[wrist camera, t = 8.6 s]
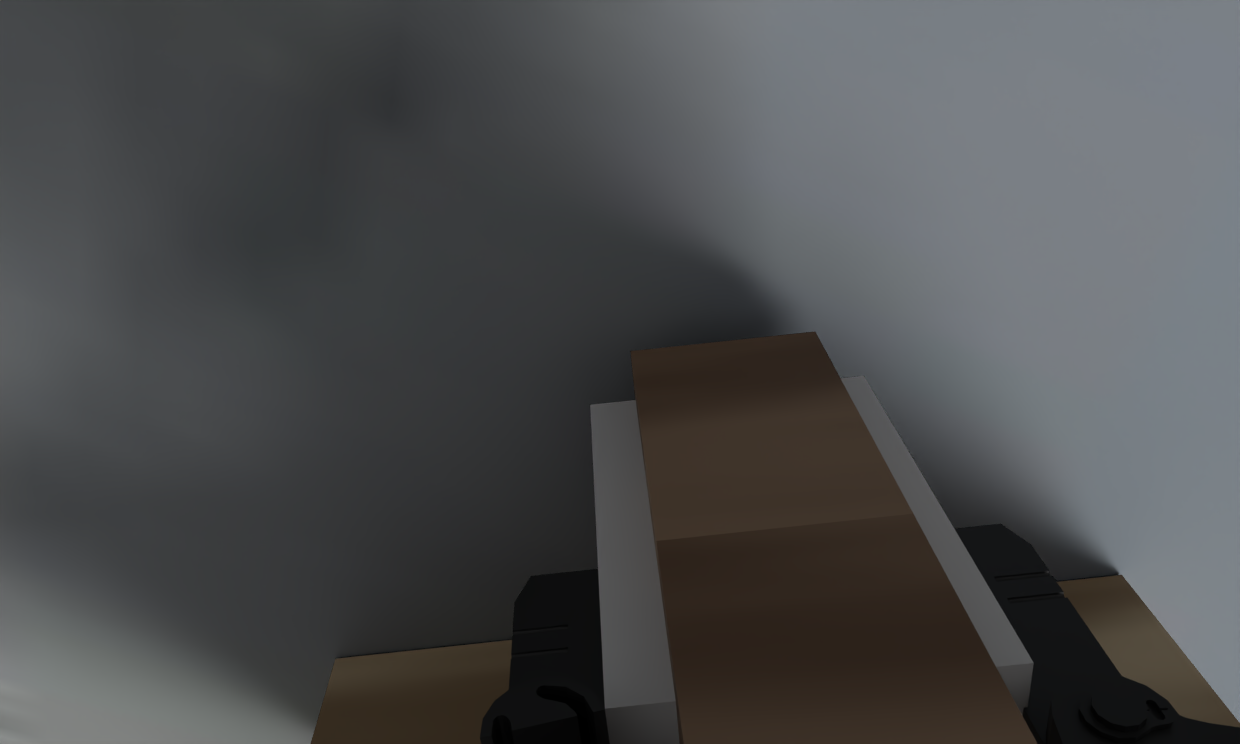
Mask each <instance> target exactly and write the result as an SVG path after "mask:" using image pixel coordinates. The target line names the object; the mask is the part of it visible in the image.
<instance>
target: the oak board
mask: <svg viewBox="0 0 1240 744" xmlns="http://www.w3.org/2000/svg"><path fill="white" fill-rule="evenodd" d="M1057 583H1058V584H1059V586H1060V587H1061V589H1062V590H1063V592H1064V597H1065V598H1067V597H1068V599H1069V600H1070V602H1071V603H1072V605H1073V606H1074V608H1075V609H1076V610H1077V612H1078V613H1079V615H1080V616H1081V618H1082V619H1083V621H1084V622H1085V623H1086V625H1087V626H1088V628H1089V629H1090V631H1091V632H1092V634H1093V635H1094V636H1095V638H1096V639H1097V641H1098V642H1099V644H1100V645H1101V647H1102V648H1103V650H1104V651H1105V652H1106V654H1107V655H1108V657H1109V658H1110V660H1111V661H1112V663H1113V664H1114V665H1115V667H1116V668H1117V670H1118V671H1119V673H1120V674H1121V675H1122V676H1123V677H1126V678H1128V679H1131V680H1133V681H1136V682H1139V683H1141V684H1144V685H1146V686H1148V687H1149V688H1151V689H1152V690H1154V691H1155V692H1157V693H1158V694H1159V695H1161V696H1162V697H1164V698H1165V699H1167V700H1168V701H1169V703H1170V704H1171V705H1172V706H1173V708H1174V709H1175V710H1176V711H1177V713H1178V714H1179V715H1181V716H1183V717H1186V718H1189V719H1194V720H1198V721H1203V722H1207V723H1213V724H1220V725H1227V726H1234V727H1240V723H1239V722H1238V721H1237V719H1236V718H1235V717H1234V715H1233V714H1232V713H1231V712H1230V710H1229V709H1228V708H1227V707H1226V705H1225V704H1224V703H1223V702H1222V700H1221V699H1220V698H1219V697H1218V695H1217V694H1216V693H1215V692H1214V690H1213V689H1212V688H1211V687H1210V685H1209V684H1208V683H1207V682H1206V680H1205V679H1204V678H1203V676H1202V675H1201V674H1200V673H1199V671H1198V670H1197V669H1196V668H1195V666H1194V665H1193V664H1192V663H1191V661H1190V660H1189V659H1188V658H1187V656H1186V655H1185V654H1184V653H1183V651H1182V650H1181V649H1180V648H1179V646H1178V645H1177V644H1176V643H1175V641H1174V640H1173V639H1172V638H1171V636H1170V635H1169V634H1168V632H1167V631H1166V630H1165V629H1164V627H1163V626H1162V625H1161V624H1160V622H1159V621H1158V620H1157V619H1156V617H1155V616H1154V615H1153V614H1152V612H1151V611H1150V610H1149V609H1148V607H1147V606H1146V605H1145V604H1144V602H1143V601H1142V600H1141V599H1140V597H1139V596H1138V595H1137V593H1136V592H1135V591H1134V590H1133V588H1132V587H1131V586H1130V585H1129V583H1128V582H1127V581H1126V580H1125V578H1124V577H1123V576H1122V575H1116V576H1107V577H1097V578H1088V579H1079V580H1069V581H1060V582H1057ZM511 647H512V640H506V641H497V642H488V643H478V644H469V645H459V646H450V647H441V648H431V649H422V650H413V651H403V652H394V653H384V654H375V655H366V656H356V657H347V658H338V659H335V662H334V666H333V669H332V673H331V676H330V680H329V683H328V686H327V690H326V693H325V697H324V700H323V703H322V707H321V710H320V714H319V717H318V721H317V724H316V727H315V731H314V734H313V738H312V741H311V744H481V741H480V733H481V726H482V720H483V717H484V716H485V714H486V713H487V711H488V710H489V708H490V707H491V705H492V704H493V702H494V701H495V700H496V699H497V698H499V697H500V696H501V695H503V694H504V693H505V692H506V691H508V690H509V677H510V662H511V658H512V657H511Z"/></svg>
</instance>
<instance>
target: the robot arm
mask: <svg viewBox="0 0 1240 744" xmlns="http://www.w3.org/2000/svg"><path fill="white" fill-rule="evenodd" d="M840 379H841V380H842V382H843V384H844V386H845V388H846V390H847V391H848V393H849V395H850V397H851V399H852V401H853V403H854V404H855V406H856V408H857V410H858V412H859V414H860V416H861V417H862V419H863V421H864V423H865V425H866V427H867V429H868V430H869V432H870V434H871V436H872V438H873V440H874V442H875V443H876V445H877V447H878V449H879V451H880V453H881V455H882V456H883V458H884V460H885V462H886V464H887V466H888V468H889V469H890V471H891V473H892V475H893V477H894V479H895V480H896V482H897V484H898V486H899V488H900V490H901V492H902V493H903V495H904V497H905V499H906V501H907V503H908V505H909V506H910V508H911V510H912V512H913V514H914V516H915V518H916V519H917V521H918V523H919V525H920V527H921V529H922V531H923V532H924V534H925V536H926V538H927V540H928V542H929V544H930V545H931V547H932V549H933V551H934V553H935V555H936V556H937V558H938V560H939V562H940V564H941V566H942V568H943V569H944V571H945V573H946V575H947V577H948V579H949V581H950V582H951V584H952V586H953V588H954V590H955V592H956V594H957V595H958V597H959V599H960V601H961V603H962V605H963V607H964V608H965V610H966V612H967V614H968V616H969V618H970V620H971V621H972V623H973V625H974V627H975V629H976V631H977V633H978V634H979V636H980V638H981V640H982V642H983V644H984V645H985V647H986V649H987V651H988V653H989V655H990V657H991V658H992V660H993V662H994V664H995V666H996V668H997V670H998V671H999V673H1000V675H1001V677H1002V679H1003V681H1004V683H1005V684H1006V686H1007V688H1008V690H1009V692H1010V694H1011V696H1012V697H1013V699H1014V701H1015V703H1016V705H1017V707H1018V709H1019V710H1020V712H1021V714H1022V716H1023V718H1024V720H1025V721H1026V723H1027V725H1028V727H1029V729H1030V731H1031V733H1032V734H1033V736H1034V738H1035V740H1036V742H1037V744H1240V727H1234V726H1227V725H1220V724H1213V723H1207V722H1203V721H1198V720H1194V719H1189V718H1186V717H1183V716H1181V715H1179V714H1178V713H1177V711H1176V710H1175V709H1174V708H1173V706H1172V705H1171V704H1170V703H1169V701H1168V700H1167V699H1165V698H1164V697H1162V696H1161V695H1159V694H1158V693H1157V692H1155V691H1154V690H1152V689H1151V688H1149V687H1148V686H1146V685H1144V684H1141V683H1139V682H1136V681H1133V680H1131V679H1128V678H1126V677H1123V676H1122V675H1121V674H1120V673H1119V671H1118V670H1117V668H1116V667H1115V665H1114V664H1113V663H1112V661H1111V660H1110V658H1109V657H1108V655H1107V654H1106V652H1105V651H1104V650H1103V648H1102V647H1101V645H1100V644H1099V642H1098V641H1097V639H1096V638H1095V636H1094V635H1093V634H1092V632H1091V631H1090V629H1089V628H1088V626H1087V625H1086V623H1085V622H1084V621H1083V619H1082V618H1081V616H1080V615H1079V613H1078V612H1077V610H1076V609H1075V608H1074V606H1073V605H1072V603H1071V602H1070V600H1069V599H1068V597H1067V598H1065V597H1064V592H1063V590H1062V589H1061V587H1060V586H1059V584H1058V583H1057V582H1056V580H1055V579H1054V577H1053V576H1050V574H1049V570H1048V569H1047V567H1046V566H1045V564H1044V563H1043V561H1042V560H1041V558H1040V557H1039V555H1038V554H1037V553H1036V551H1035V550H1034V548H1033V547H1032V545H1031V544H1029V543H1028V542H1026V541H1025V540H1023V539H1022V538H1020V537H1019V536H1018V535H1016V534H1015V533H1013V532H1012V531H1010V530H1009V529H1008V528H1006V527H1005V526H1003V525H1002V524H995V525H985V526H976V527H966V528H957V529H954V527H953V526H952V524H951V522H950V521H949V519H948V517H947V516H946V514H945V512H944V510H943V509H942V507H941V505H940V504H939V502H938V500H937V499H936V497H935V495H934V494H933V492H932V490H931V488H930V487H929V485H928V483H927V482H926V480H925V478H924V477H923V475H922V473H921V472H920V470H919V468H918V466H917V465H916V463H915V461H914V460H913V458H912V456H911V455H910V453H909V451H908V450H907V448H906V446H905V444H904V443H903V441H902V439H901V438H900V436H899V434H898V433H897V431H896V429H895V428H894V426H893V424H892V422H891V421H890V419H889V417H888V416H887V414H886V412H885V411H884V409H883V407H882V406H881V404H880V402H879V401H878V399H877V397H876V395H875V394H874V392H873V390H872V389H871V387H870V385H869V384H868V382H867V380H866V379H865V377H864V376H857V377H847V378H840ZM590 410H591V430H592V451H593V472H594V493H595V514H596V535H597V555H598V569H593V570H584V571H574V572H565V573H555V574H546V575H537V576H531V577H530V579H529V580H528V582H527V583H526V585H525V586H524V588H523V590H522V591H521V593H520V594H519V596H518V598H517V599H516V601H515V604H514V618H513V636H512V647H511V657H512V658H511V662H510V677H509V690H508V691H506V692H505V693H504V694H503V695H501V696H500V697H499V698H497V699H496V700H495V701H494V702H493V704H492V705H491V707H490V708H489V710H488V711H487V713H486V714H485V716H484V717H483V720H482V726H481V733H480V741H481V744H680V743H679V732H678V721H677V710H676V700H675V692H674V685H673V677H672V670H671V662H670V655H669V647H668V640H667V632H666V625H665V617H664V610H663V602H662V595H661V587H660V580H659V572H658V565H657V557H656V550H655V543H654V535H653V528H652V520H651V513H650V505H649V498H648V490H647V483H646V475H645V468H644V460H643V453H642V445H641V438H640V430H639V423H638V415H637V408H636V400H630V401H621V402H611V403H602V404H592V405H590Z"/></svg>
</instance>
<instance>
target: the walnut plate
mask: <svg viewBox="0 0 1240 744" xmlns="http://www.w3.org/2000/svg"><path fill="white" fill-rule="evenodd" d="M630 352H631V362H632V372H633V382H634V393H635V400H636V408H637V415H638V423H639V430H640V438H641V445H642V453H643V460H644V468H645V475H646V483H647V490H648V498H649V505H650V513H651V520H652V528H653V535H654V543H655V550H656V557H657V565H658V572H659V580H660V587H661V595H662V602H663V610H664V617H665V625H666V632H667V640H668V647H669V655H670V662H671V670H672V677H673V685H674V692H675V700H676V710H677V721H678V732H679V743H680V744H1037V742H1036V740H1035V738H1034V736H1033V734H1032V733H1031V731H1030V729H1029V727H1028V725H1027V723H1026V721H1025V720H1024V718H1023V716H1022V714H1021V712H1020V710H1019V709H1018V707H1017V705H1016V703H1015V701H1014V699H1013V697H1012V696H1011V694H1010V692H1009V690H1008V688H1007V686H1006V684H1005V683H1004V681H1003V679H1002V677H1001V675H1000V673H999V671H998V670H997V668H996V666H995V664H994V662H993V660H992V658H991V657H990V655H989V653H988V651H987V649H986V647H985V645H984V644H983V642H982V640H981V638H980V636H979V634H978V633H977V631H976V629H975V627H974V625H973V623H972V621H971V620H970V618H969V616H968V614H967V612H966V610H965V608H964V607H963V605H962V603H961V601H960V599H959V597H958V595H957V594H956V592H955V590H954V588H953V586H952V584H951V582H950V581H949V579H948V577H947V575H946V573H945V571H944V569H943V568H942V566H941V564H940V562H939V560H938V558H937V556H936V555H935V553H934V551H933V549H932V547H931V545H930V544H929V542H928V540H927V538H926V536H925V534H924V532H923V531H922V529H921V527H920V525H919V523H918V521H917V519H916V518H915V516H914V514H913V512H912V510H911V508H910V506H909V505H908V503H907V501H906V499H905V497H904V495H903V493H902V492H901V490H900V488H899V486H898V484H897V482H896V480H895V479H894V477H893V475H892V473H891V471H890V469H889V468H888V466H887V464H886V462H885V460H884V458H883V456H882V455H881V453H880V451H879V449H878V447H877V445H876V443H875V442H874V440H873V438H872V436H871V434H870V432H869V430H868V429H867V427H866V425H865V423H864V421H863V419H862V417H861V416H860V414H859V412H858V410H857V408H856V406H855V404H854V403H853V401H852V399H851V397H850V395H849V393H848V391H847V390H846V388H845V386H844V384H843V382H842V380H841V379H840V377H839V375H838V373H837V371H836V369H835V367H834V366H833V364H832V362H831V360H830V358H829V356H828V354H827V353H826V351H825V349H824V347H823V345H822V343H821V341H820V340H819V338H818V336H817V334H816V332H806V333H797V334H787V335H778V336H769V337H759V338H750V339H740V340H731V341H721V342H712V343H702V344H693V345H683V346H674V347H665V348H655V349H646V350H636V351H630Z"/></svg>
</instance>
